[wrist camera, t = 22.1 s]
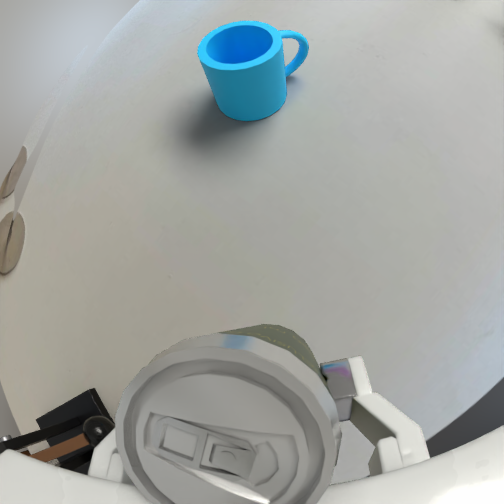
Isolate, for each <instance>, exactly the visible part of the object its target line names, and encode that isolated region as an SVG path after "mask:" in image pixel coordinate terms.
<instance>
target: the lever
mask: <svg viewBox="0 0 504 504" xmlns="http://www.w3.org/2000/svg"><path fill="white" fill-rule="evenodd" d="M114 428H115V425H114V424H113V423H112V422H111V421H110V420H109V419H107V418H106V417H103V416H92V417H90V418H88V419H87V420H86V421H85V423H84V425H83V434H80V435H78V436H76V437H74V438H71V439H69V440H67V441H64V442H62V443H60V444H57V445H55V446H52V447H50V448H47V449H45V450H42V451H40V452H37V453H35V454H32V455H31V454H30V453H29V451H28V450H27V451H23V452H21V453H22V454H24V455H27V456H29V457H32V458H35V459H37V460H40V461H43V462H48V461H50V460H53V459H55V458H58V457H60V456H63V455H65V454H68V453H70V452H73V451H75V450H77V449H80V448H82V447H84V446H86V445H89V444H90V445H91V446H93V447H96V446H97V445H98V444H99V443H100V442H101V441H102V440H103V439H104V438H105V437H106V436H107V435H108V434H109V433H110V432H111V431H112V430H113V429H114Z"/></svg>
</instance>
